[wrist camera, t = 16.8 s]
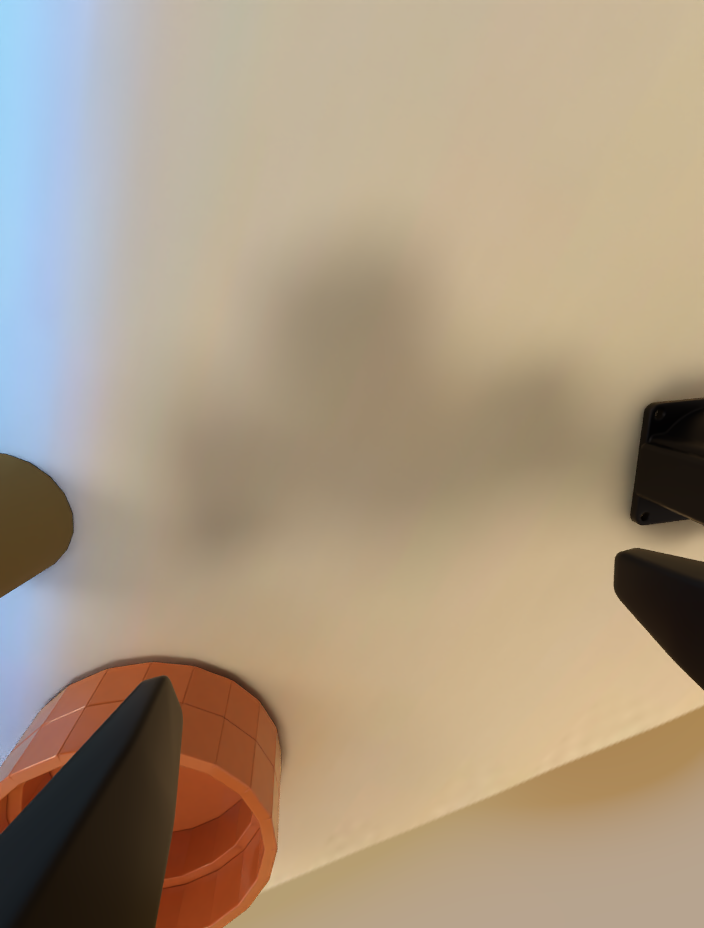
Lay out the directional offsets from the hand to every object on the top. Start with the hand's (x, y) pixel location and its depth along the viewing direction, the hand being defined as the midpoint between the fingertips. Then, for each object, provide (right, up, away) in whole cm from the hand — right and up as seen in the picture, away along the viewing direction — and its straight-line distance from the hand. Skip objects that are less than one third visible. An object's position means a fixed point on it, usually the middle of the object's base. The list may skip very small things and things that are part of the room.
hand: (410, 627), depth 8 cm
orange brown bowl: (-12, -13, +15) cm, 23 cm away
